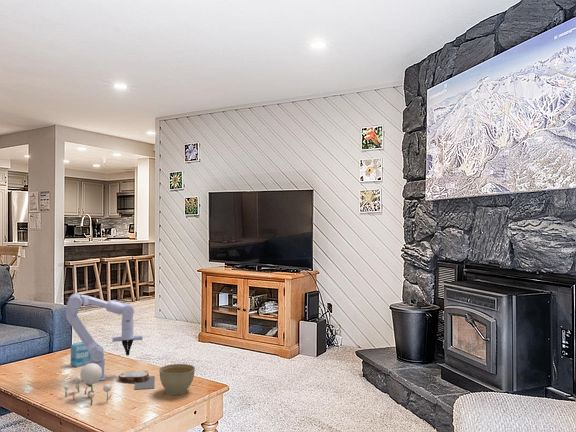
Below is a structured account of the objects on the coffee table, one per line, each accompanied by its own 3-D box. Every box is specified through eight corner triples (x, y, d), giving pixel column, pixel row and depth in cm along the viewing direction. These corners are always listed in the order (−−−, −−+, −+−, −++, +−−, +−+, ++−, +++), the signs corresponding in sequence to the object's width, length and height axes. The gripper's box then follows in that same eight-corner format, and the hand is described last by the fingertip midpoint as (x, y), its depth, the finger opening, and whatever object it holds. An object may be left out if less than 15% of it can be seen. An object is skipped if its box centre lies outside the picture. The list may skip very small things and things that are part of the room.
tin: (145, 382, 234) (151, 377, 242) (145, 375, 234) (151, 371, 242) (115, 382, 235) (122, 378, 243) (115, 375, 235) (122, 371, 244)
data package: (74, 367, 257) (75, 345, 258) (70, 366, 260) (70, 344, 260) (95, 363, 267) (95, 341, 267) (90, 361, 270) (91, 340, 270)
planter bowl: (201, 392, 223) (201, 368, 223) (170, 401, 211) (171, 376, 212) (182, 383, 234) (182, 361, 234) (152, 391, 223) (152, 368, 223)
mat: (134, 389, 225) (134, 389, 225) (136, 378, 242) (136, 377, 242) (154, 388, 227) (154, 387, 227) (154, 376, 244) (154, 375, 244)
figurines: (117, 400, 211) (118, 366, 211) (94, 409, 201) (95, 372, 201) (83, 389, 225) (84, 357, 225) (59, 396, 215) (60, 362, 215)
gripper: (142, 325, 252) (142, 351, 252) (113, 327, 248) (113, 353, 248) (142, 328, 245) (142, 355, 245) (111, 330, 241) (112, 357, 241)
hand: (127, 355), depth 246 cm, fingers closed
